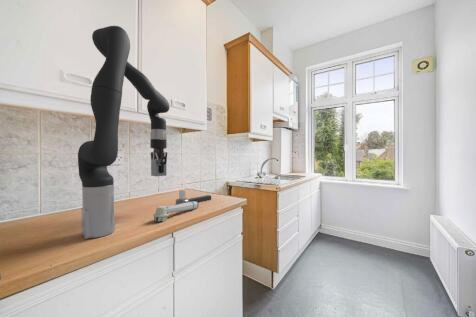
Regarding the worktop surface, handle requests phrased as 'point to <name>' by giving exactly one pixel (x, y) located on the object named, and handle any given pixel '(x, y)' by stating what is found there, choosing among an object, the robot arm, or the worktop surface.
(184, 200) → the ratchet
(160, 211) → the grey cylindrical tool
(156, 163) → the socket
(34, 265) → the worktop surface
